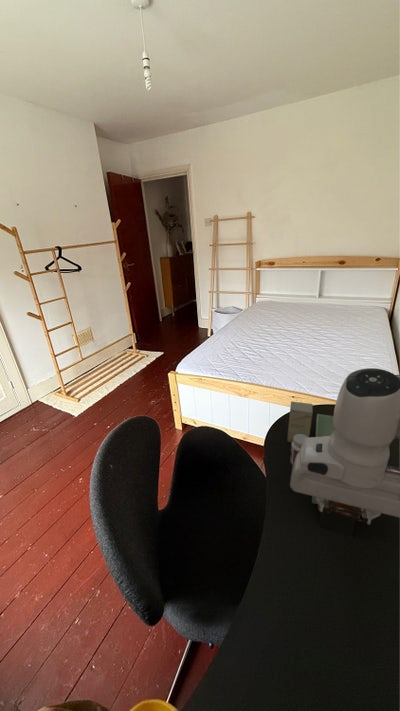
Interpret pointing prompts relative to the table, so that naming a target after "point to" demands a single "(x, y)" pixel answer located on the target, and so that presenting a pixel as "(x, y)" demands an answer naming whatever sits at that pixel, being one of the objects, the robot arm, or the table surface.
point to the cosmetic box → (299, 419)
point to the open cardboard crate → (344, 510)
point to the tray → (323, 431)
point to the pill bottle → (296, 445)
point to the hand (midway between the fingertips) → (343, 514)
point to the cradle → (337, 523)
